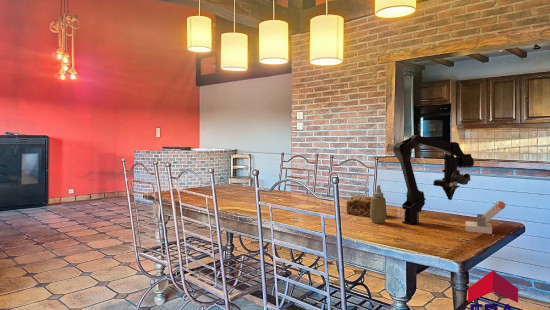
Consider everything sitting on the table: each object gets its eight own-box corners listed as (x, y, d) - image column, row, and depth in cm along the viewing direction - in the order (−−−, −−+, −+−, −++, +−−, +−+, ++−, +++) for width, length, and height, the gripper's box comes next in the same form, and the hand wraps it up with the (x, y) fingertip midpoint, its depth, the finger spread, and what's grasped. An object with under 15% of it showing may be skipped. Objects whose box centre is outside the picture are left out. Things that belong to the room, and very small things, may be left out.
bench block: (465, 231, 163) (466, 216, 163) (465, 226, 172) (466, 212, 172) (491, 233, 158) (492, 218, 158) (490, 229, 167) (490, 214, 167)
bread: (386, 215, 198) (386, 196, 197) (379, 218, 189) (379, 199, 189) (353, 211, 208) (353, 193, 208) (345, 214, 200) (345, 196, 199)
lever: (476, 221, 163) (500, 200, 159) (475, 219, 168) (500, 198, 163) (483, 227, 162) (508, 206, 157) (482, 225, 166) (506, 204, 162)
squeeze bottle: (377, 224, 175) (378, 186, 174) (365, 221, 182) (366, 185, 181) (390, 223, 178) (390, 185, 178) (378, 219, 186) (379, 184, 185)
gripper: (454, 169, 168) (454, 204, 168) (478, 168, 178) (477, 200, 178) (433, 168, 177) (432, 200, 178) (456, 166, 187) (455, 197, 188)
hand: (450, 199), depth 180 cm, fingers closed
